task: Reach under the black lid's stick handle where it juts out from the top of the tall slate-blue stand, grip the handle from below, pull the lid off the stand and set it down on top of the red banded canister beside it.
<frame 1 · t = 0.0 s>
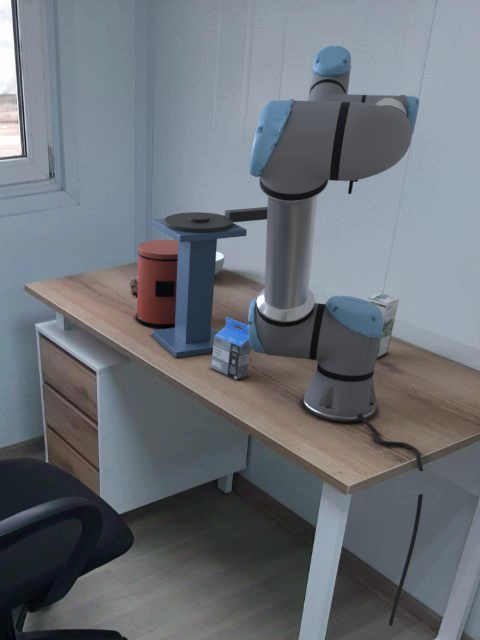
hand: (322, 188, 184), 36 cm above the table, tool tilted 35°, fingers open, 13 cm apart
stand: (191, 342, 193), on the table
label tape box: (229, 373, 177), on the table
syrup box: (371, 354, 187), on the table
cereal bowl: (196, 277, 241), on the table
lid: (198, 224, 177), point 30 cm above the table, touching stand
red banded canister: (163, 318, 208), on the table
rock: (150, 297, 224), on the table
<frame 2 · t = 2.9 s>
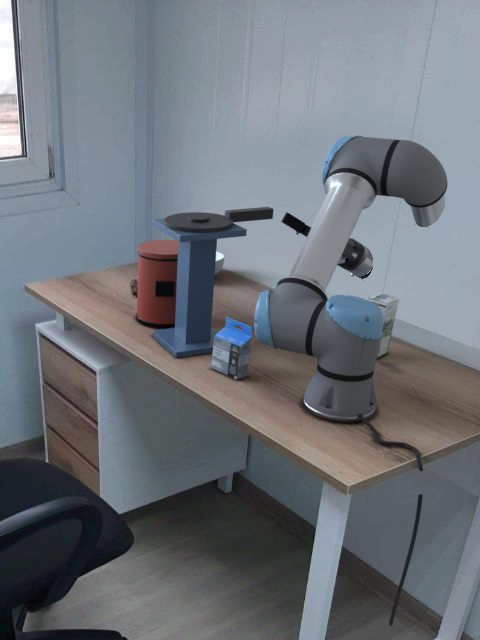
hand: (298, 223, 186), 28 cm above the table, tool pointing upward, fingers open, 13 cm apart
nothing on the table moved.
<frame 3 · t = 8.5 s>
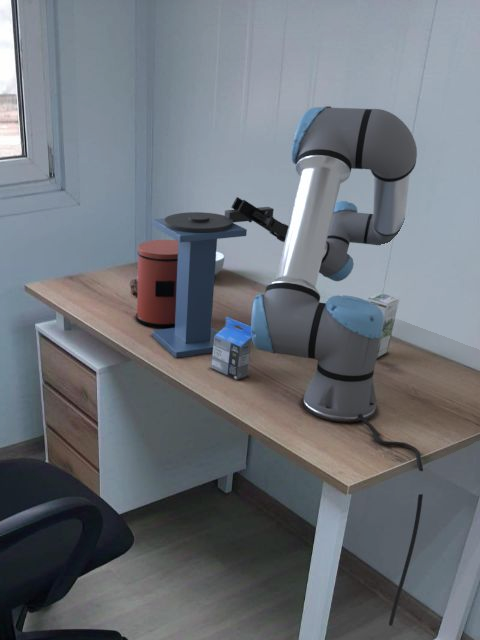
hand: (238, 203, 178), 34 cm above the table, tool pointing upward, fingers closed on lid, 3 cm apart
lid: (198, 224, 177), point 30 cm above the table, touching gripper
everything else where it was.
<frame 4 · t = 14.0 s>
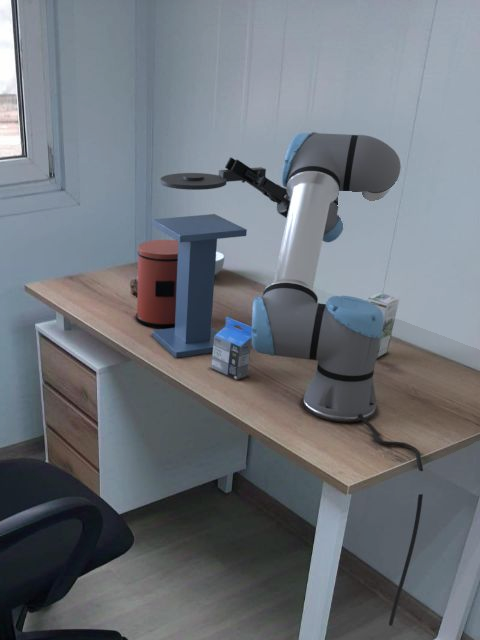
hand: (231, 163, 185), 41 cm above the table, tool pointing upward, fingers closed on lid, 3 cm apart
lid: (193, 183, 184), point 37 cm above the table, touching gripper
everything else where it was.
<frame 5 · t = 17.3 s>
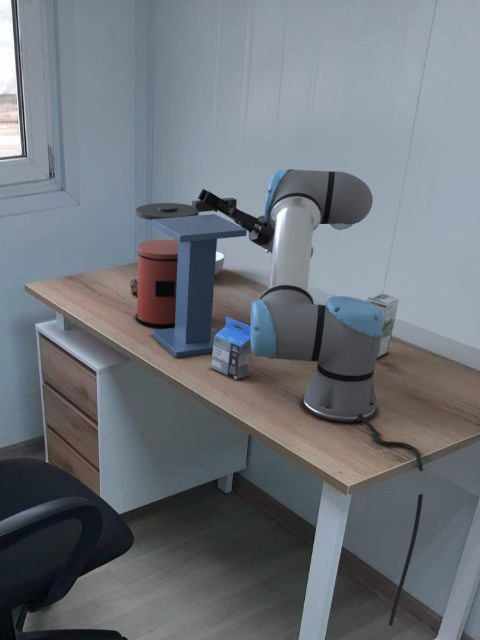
hand: (203, 195, 193), 32 cm above the table, tool pointing upward, fingers closed on lid, 3 cm apart
lid: (167, 213, 193), point 29 cm above the table, touching gripper
everything else where it was.
when the fingers open (24 cm above the table, at t = 19.8 s): lid stays where it is, resting on red banded canister.
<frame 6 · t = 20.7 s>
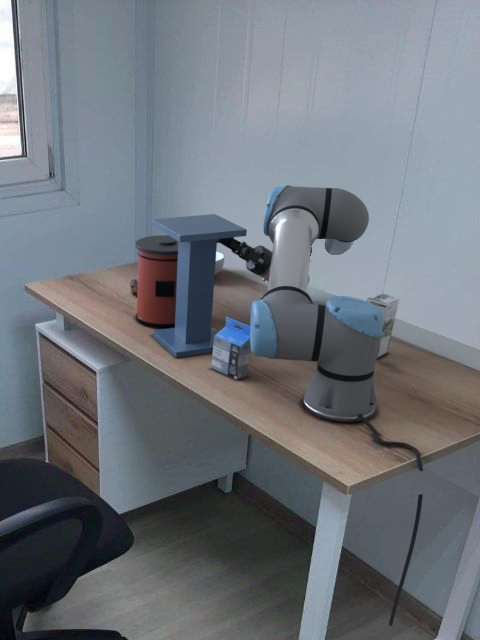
hand: (208, 230, 199), 23 cm above the table, tool pointing upward, fingers open, 13 cm apart
lid: (166, 246, 197), point 20 cm above the table, touching red banded canister
everything else where it was.
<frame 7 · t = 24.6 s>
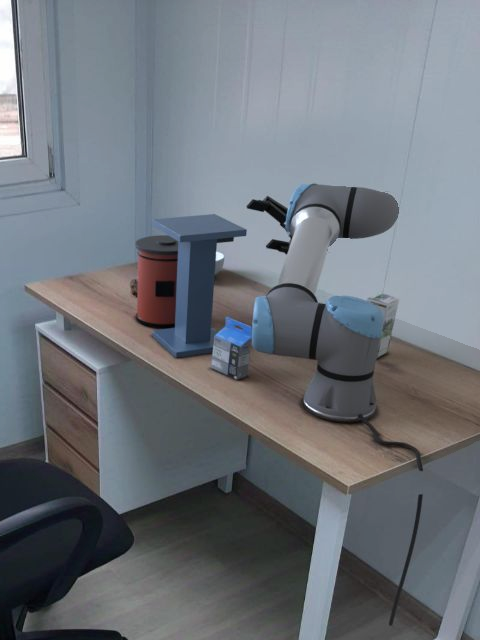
hand: (259, 223, 196), 25 cm above the table, tool pointing upward, fingers open, 13 cm apart
nothing on the table moved.
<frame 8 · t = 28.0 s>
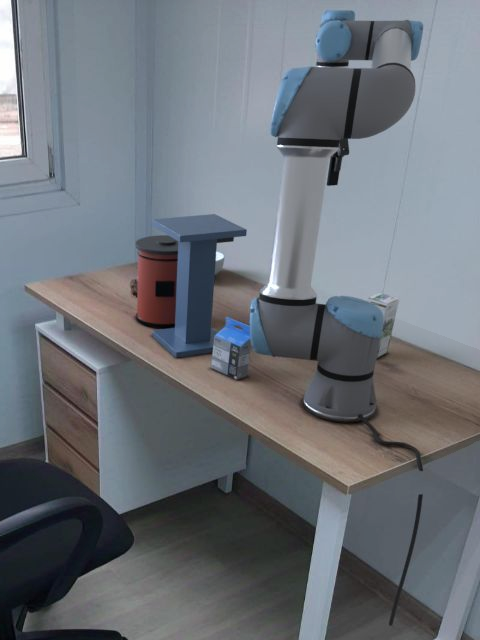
hand: (316, 180, 188), 37 cm above the table, tool pointing down, fingers open, 13 cm apart
nothing on the table moved.
at the end: lid 0.0 cm off-centre on the red banded canister, point 20.0 cm above the red banded canister's base; lid tilted 0°; the gripper is holding nothing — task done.
